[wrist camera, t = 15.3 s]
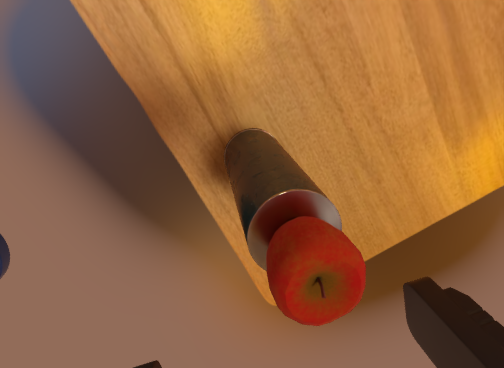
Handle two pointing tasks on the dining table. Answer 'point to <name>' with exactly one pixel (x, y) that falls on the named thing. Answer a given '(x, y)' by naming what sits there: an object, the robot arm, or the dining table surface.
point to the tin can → (270, 189)
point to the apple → (314, 271)
